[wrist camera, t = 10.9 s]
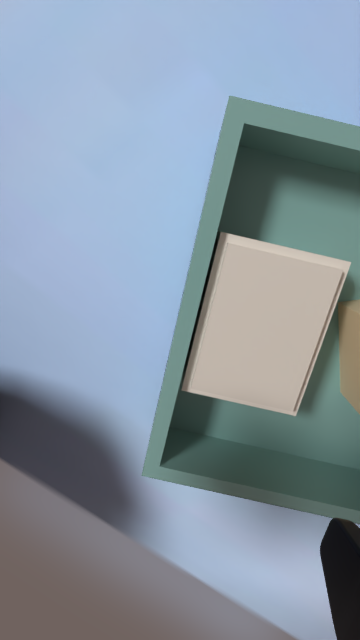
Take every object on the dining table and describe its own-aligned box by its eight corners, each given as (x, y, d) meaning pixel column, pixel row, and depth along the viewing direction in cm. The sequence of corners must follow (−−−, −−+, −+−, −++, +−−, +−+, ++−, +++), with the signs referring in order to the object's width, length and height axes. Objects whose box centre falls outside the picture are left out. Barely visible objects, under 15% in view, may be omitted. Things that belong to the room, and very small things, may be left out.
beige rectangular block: (183, 366, 20) (181, 393, 17) (217, 230, 18) (221, 231, 15) (281, 388, 20) (297, 420, 17) (326, 256, 18) (355, 263, 15)
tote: (152, 427, 22) (141, 475, 18) (221, 127, 18) (229, 95, 13) (388, 479, 23) (433, 540, 18) (521, 198, 18) (626, 190, 13)
